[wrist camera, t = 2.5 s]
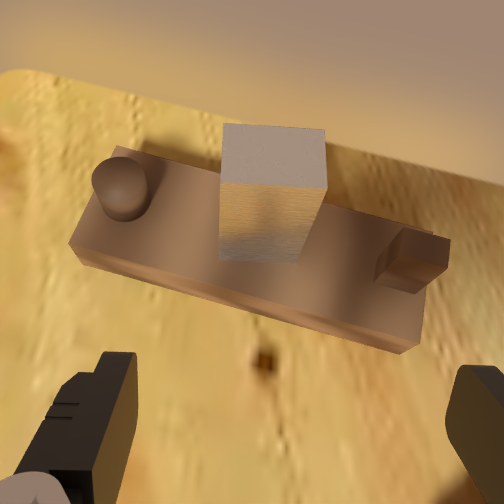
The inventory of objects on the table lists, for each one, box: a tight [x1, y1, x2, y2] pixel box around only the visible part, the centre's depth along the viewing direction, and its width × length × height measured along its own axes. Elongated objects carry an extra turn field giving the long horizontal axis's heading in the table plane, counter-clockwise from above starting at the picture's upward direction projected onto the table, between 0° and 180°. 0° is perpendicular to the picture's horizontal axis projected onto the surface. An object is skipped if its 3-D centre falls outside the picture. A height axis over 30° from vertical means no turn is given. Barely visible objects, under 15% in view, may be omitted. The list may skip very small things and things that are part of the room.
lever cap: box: [218, 123, 328, 263], centre depth 23 cm, size 4×3×8 cm
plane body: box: [68, 145, 450, 355], centre depth 26 cm, size 20×7×7 cm, turn 75°
